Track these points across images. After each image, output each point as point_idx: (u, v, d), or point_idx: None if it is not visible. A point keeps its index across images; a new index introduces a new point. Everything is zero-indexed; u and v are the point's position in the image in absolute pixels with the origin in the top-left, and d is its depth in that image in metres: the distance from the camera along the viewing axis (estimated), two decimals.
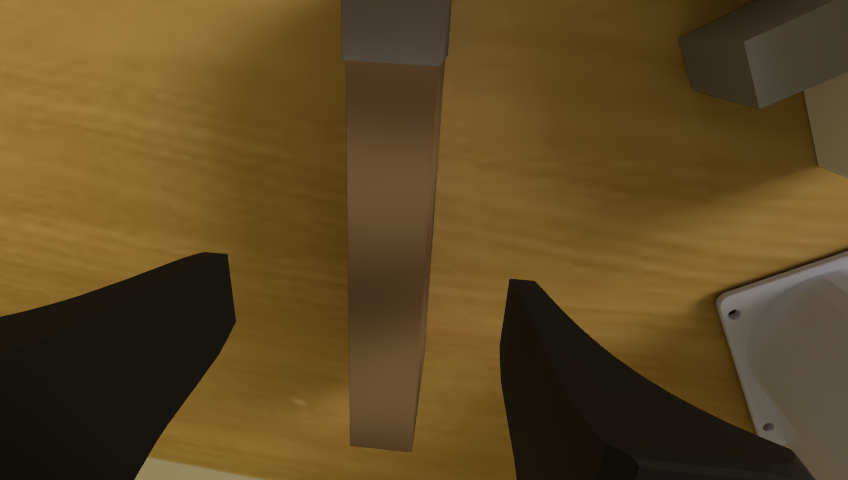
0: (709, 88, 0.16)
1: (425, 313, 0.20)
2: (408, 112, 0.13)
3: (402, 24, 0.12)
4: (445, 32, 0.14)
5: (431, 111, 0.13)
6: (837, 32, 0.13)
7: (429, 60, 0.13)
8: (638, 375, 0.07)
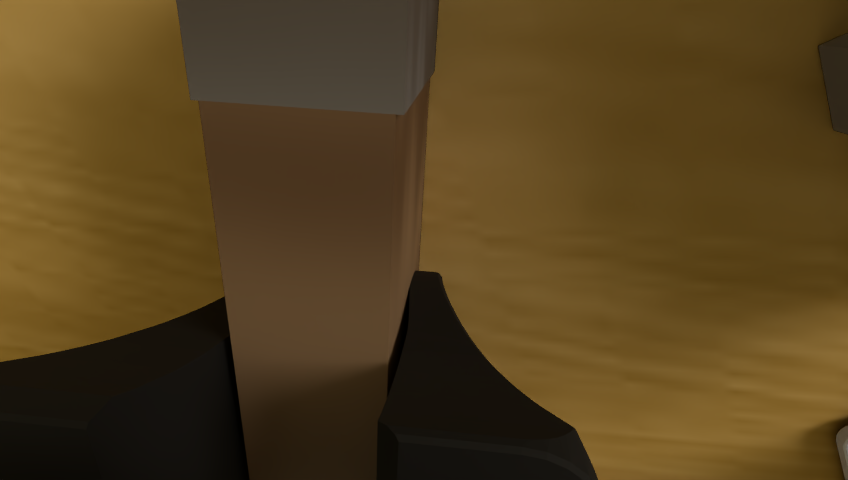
0: None
1: None
2: (340, 208, 0.06)
3: (316, 20, 0.05)
4: (423, 37, 0.07)
5: (389, 206, 0.06)
6: None
7: (380, 102, 0.06)
8: (484, 360, 0.07)
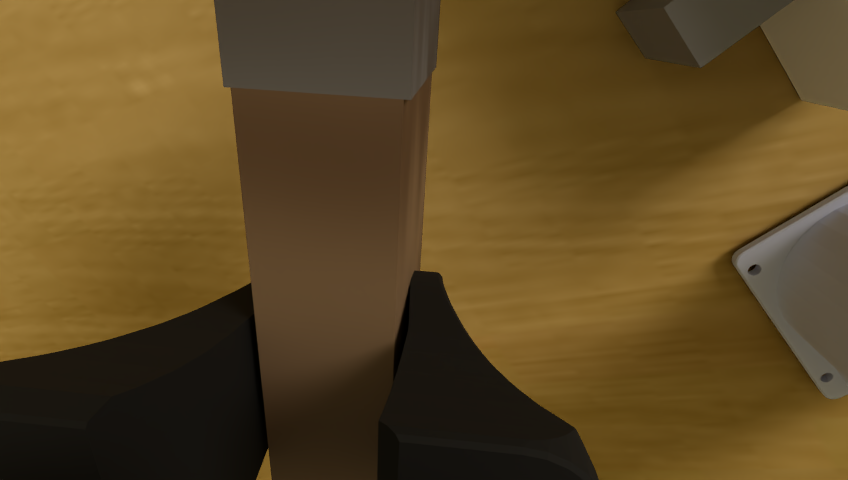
0: (656, 54, 0.16)
1: None
2: (354, 183, 0.07)
3: (334, 17, 0.06)
4: (427, 34, 0.08)
5: (397, 182, 0.07)
6: None
7: (390, 88, 0.06)
8: (484, 360, 0.07)
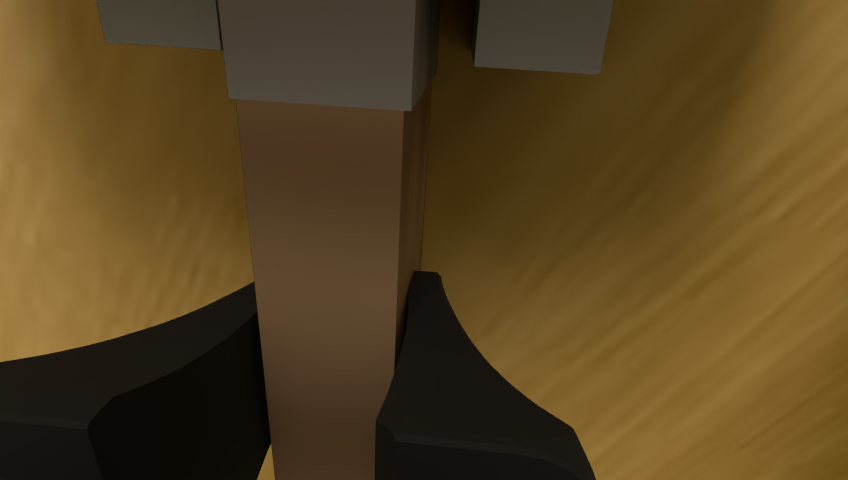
0: None
1: None
2: (356, 192, 0.07)
3: (337, 31, 0.06)
4: (427, 43, 0.08)
5: (398, 190, 0.07)
6: None
7: (391, 100, 0.07)
8: (483, 360, 0.07)
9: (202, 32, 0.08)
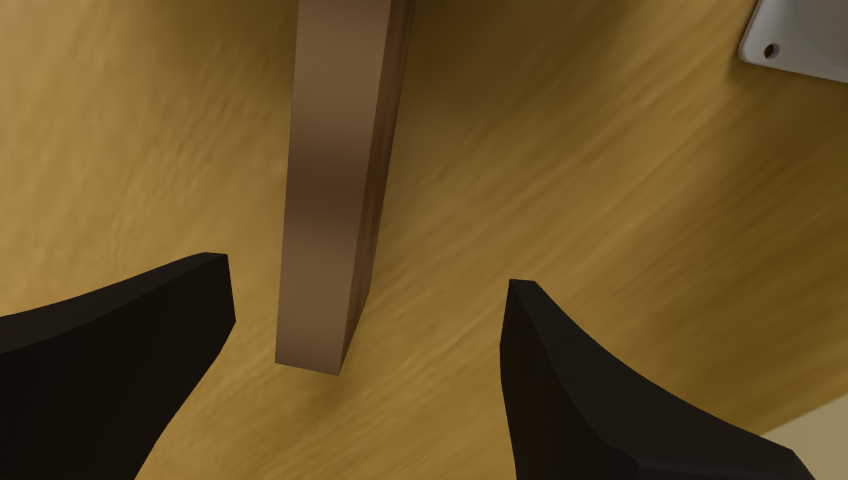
0: None
1: (371, 241, 0.20)
2: None
3: None
4: None
5: None
6: None
7: None
8: (638, 375, 0.07)
9: None
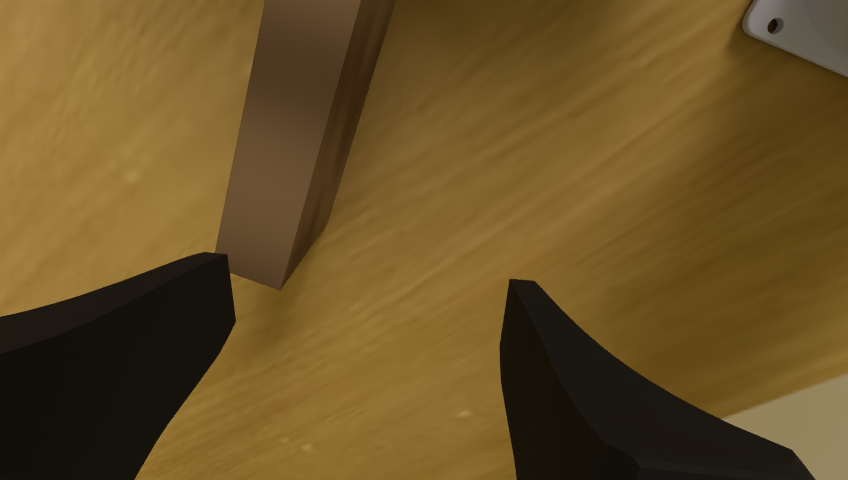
0: None
1: (338, 161, 0.18)
2: None
3: None
4: None
5: None
6: None
7: None
8: (638, 375, 0.07)
9: None
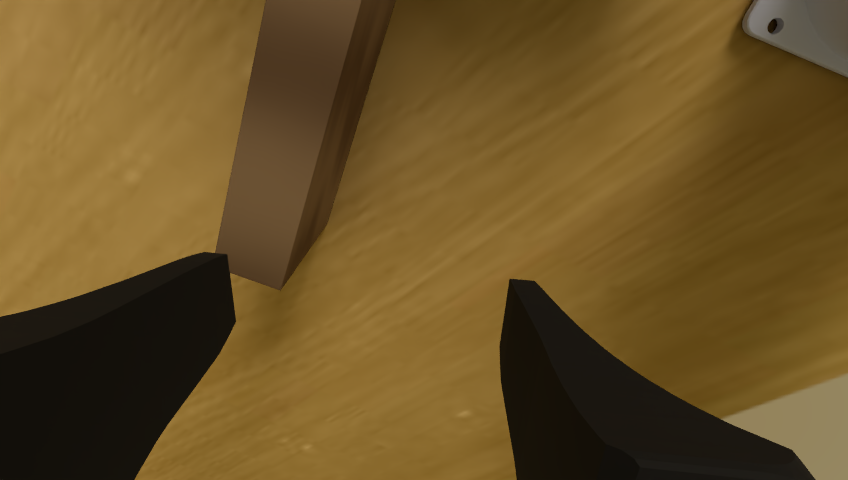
0: None
1: (338, 161, 0.18)
2: None
3: None
4: None
5: None
6: None
7: None
8: (638, 375, 0.07)
9: None
